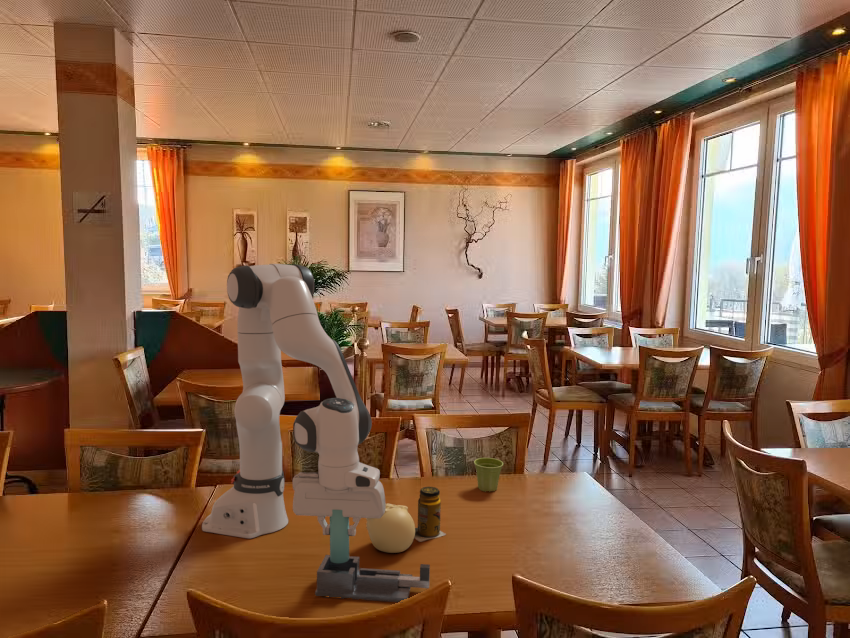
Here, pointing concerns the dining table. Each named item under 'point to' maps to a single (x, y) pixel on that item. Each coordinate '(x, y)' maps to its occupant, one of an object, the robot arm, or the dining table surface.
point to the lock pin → (414, 578)
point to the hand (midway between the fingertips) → (339, 534)
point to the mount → (358, 582)
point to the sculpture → (392, 529)
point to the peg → (339, 537)
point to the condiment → (428, 514)
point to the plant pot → (488, 473)
